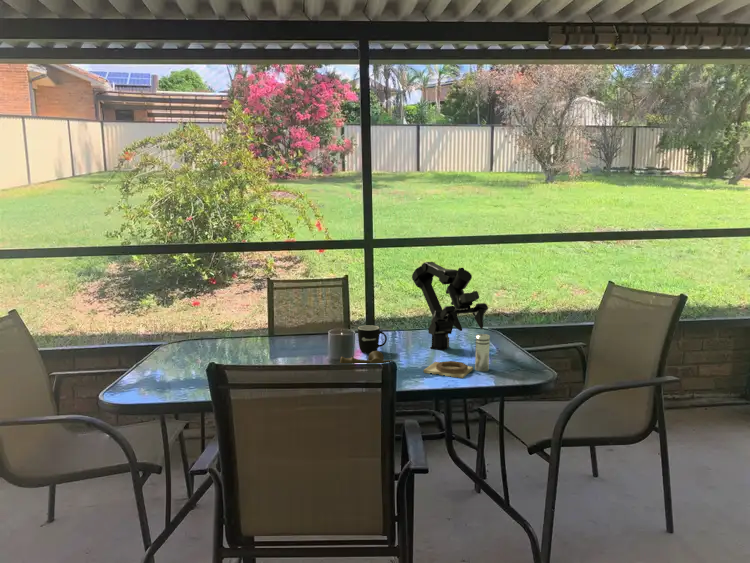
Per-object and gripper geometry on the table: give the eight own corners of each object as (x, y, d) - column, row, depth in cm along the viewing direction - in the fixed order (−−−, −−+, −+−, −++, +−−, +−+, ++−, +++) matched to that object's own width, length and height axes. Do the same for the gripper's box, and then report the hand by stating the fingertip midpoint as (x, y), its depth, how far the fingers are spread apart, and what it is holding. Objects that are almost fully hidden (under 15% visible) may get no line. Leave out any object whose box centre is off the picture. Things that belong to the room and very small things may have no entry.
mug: (357, 354, 244) (357, 330, 243) (358, 348, 253) (357, 325, 251) (387, 354, 244) (387, 330, 243) (386, 348, 253) (386, 325, 252)
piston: (473, 370, 223) (474, 336, 221) (477, 366, 227) (478, 333, 225) (486, 372, 220) (487, 337, 218) (490, 368, 225) (491, 334, 223)
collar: (423, 372, 220) (423, 366, 219) (435, 364, 230) (435, 357, 230) (462, 378, 213) (462, 371, 213) (472, 369, 224) (473, 362, 223)
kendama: (340, 366, 229) (392, 364, 230) (340, 375, 220) (394, 373, 220) (339, 351, 228) (392, 349, 229) (339, 359, 219) (394, 357, 219)
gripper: (444, 285, 228) (458, 319, 219) (486, 282, 235) (501, 315, 226) (434, 302, 236) (447, 336, 228) (475, 299, 243) (489, 331, 235)
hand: (471, 329), depth 229 cm, fingers open, 9 cm apart
